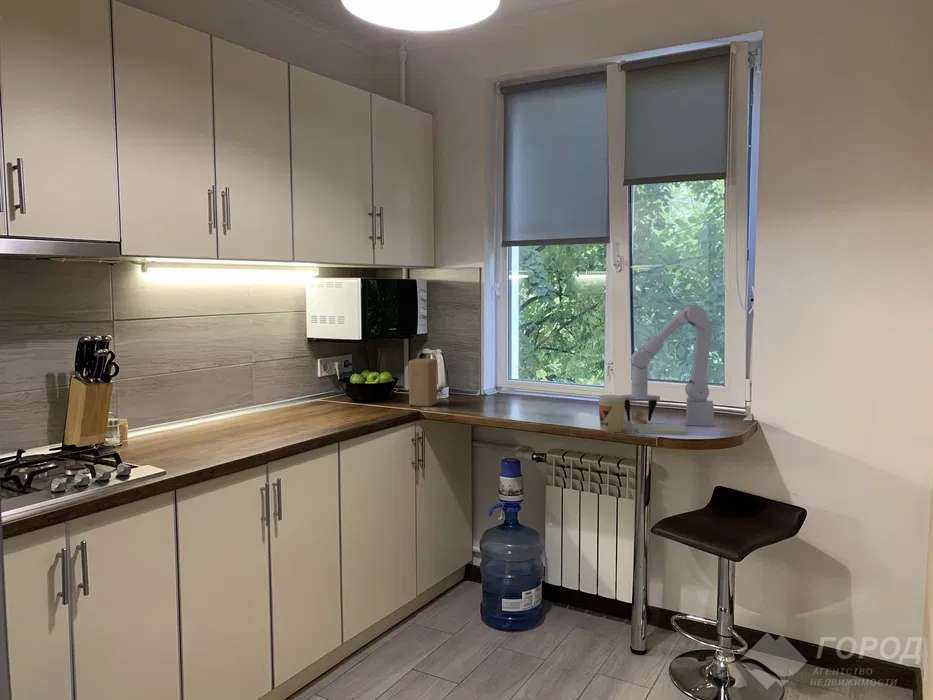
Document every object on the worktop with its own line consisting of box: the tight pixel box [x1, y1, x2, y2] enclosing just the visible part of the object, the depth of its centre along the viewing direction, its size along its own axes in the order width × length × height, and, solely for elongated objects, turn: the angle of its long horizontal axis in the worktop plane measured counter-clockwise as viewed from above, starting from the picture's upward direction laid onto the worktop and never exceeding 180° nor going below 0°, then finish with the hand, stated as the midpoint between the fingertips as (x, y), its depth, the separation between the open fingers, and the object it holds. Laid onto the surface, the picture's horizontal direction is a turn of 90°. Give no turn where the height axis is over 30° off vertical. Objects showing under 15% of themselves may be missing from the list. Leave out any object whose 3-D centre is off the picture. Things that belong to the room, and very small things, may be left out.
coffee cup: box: [597, 394, 625, 433], centre depth 256 cm, size 9×9×12 cm
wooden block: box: [408, 358, 438, 408], centre depth 313 cm, size 10×10×20 cm
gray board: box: [634, 423, 688, 435], centre depth 254 cm, size 16×12×1 cm
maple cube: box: [630, 409, 648, 426], centre depth 267 cm, size 5×5×5 cm
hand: (639, 420), depth 267 cm, fingers open, 7 cm apart
